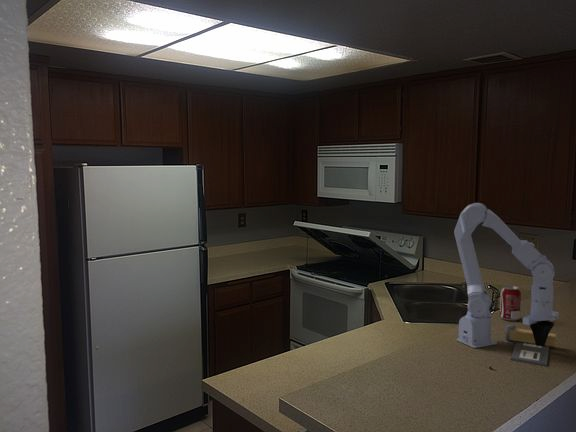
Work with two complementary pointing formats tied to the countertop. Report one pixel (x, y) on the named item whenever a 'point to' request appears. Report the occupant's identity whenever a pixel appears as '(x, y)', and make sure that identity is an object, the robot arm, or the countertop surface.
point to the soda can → (510, 303)
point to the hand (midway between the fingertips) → (540, 345)
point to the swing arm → (526, 335)
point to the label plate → (529, 352)
